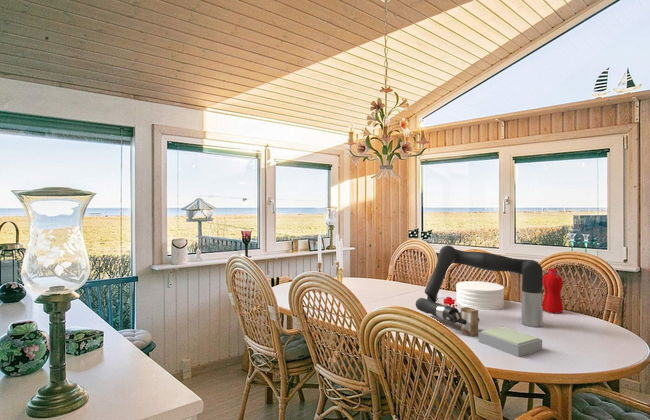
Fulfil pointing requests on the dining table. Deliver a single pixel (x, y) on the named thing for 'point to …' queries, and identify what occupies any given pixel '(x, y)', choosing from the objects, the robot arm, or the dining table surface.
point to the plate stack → (480, 295)
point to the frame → (469, 321)
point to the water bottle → (552, 292)
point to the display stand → (510, 341)
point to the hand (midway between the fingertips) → (472, 321)
